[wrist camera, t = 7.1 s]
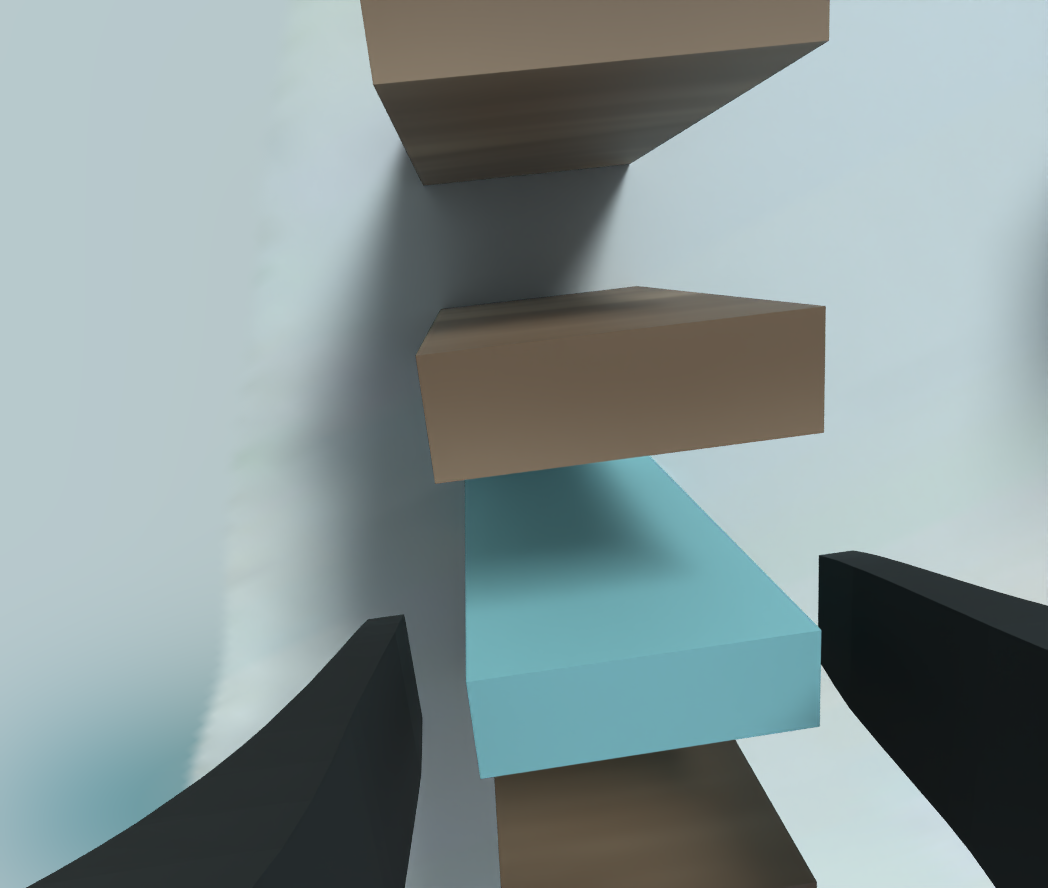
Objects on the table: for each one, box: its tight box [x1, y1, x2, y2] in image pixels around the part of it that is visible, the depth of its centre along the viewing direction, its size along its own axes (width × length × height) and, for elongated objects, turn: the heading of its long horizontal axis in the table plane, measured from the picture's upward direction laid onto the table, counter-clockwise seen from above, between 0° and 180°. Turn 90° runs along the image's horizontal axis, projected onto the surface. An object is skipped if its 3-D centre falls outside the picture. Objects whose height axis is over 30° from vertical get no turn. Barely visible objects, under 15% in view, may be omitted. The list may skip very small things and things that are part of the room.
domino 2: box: [465, 456, 821, 779], centre depth 14 cm, size 2×5×9 cm, turn 97°
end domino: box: [360, 0, 830, 186], centre depth 11 cm, size 2×5×9 cm, turn 97°
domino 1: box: [416, 286, 826, 484], centre depth 12 cm, size 2×5×9 cm, turn 97°
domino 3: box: [494, 740, 817, 888], centre depth 15 cm, size 2×5×9 cm, turn 97°
